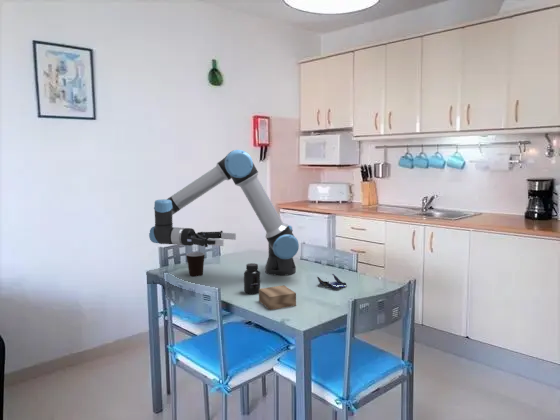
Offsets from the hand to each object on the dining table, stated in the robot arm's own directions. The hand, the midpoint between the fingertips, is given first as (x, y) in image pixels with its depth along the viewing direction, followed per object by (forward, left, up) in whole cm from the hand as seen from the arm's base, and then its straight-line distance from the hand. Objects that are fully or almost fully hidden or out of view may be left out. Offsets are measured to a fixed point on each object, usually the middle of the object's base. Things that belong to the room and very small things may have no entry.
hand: (229, 239), depth 191 cm
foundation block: (-11, +23, -22) cm, 34 cm away
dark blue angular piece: (-42, +14, -23) cm, 50 cm away
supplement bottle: (-7, +6, -22) cm, 24 cm away
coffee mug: (+7, -32, -22) cm, 39 cm away
